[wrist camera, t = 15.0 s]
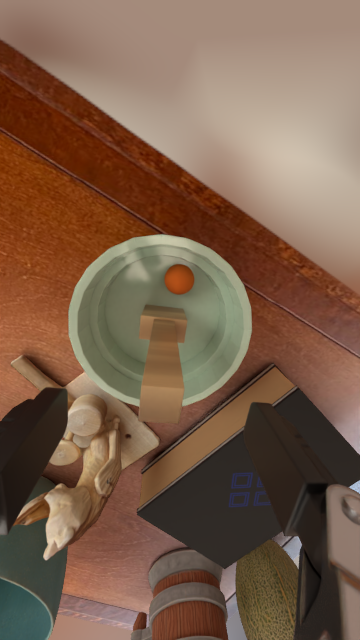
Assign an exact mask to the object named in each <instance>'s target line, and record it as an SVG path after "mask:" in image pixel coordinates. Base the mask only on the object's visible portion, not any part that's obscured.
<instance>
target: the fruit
mask: <svg viewBox="0 0 360 640" xmlns="http://www.w3.org/2000/svg"><path fill="white" fill-rule="evenodd" d="M298 572H299V570H298V568H297V566H296V565H295V563H294V562H293V561H292V559H291V558H290V556H289V555H288V554H287V553H286V551H285V550H284V549H283V548H282V547H281V546H280V545H279V544H277V543H276V542H274V541H273V540H271V539H269V540H268V541H266V542H265V543H263V544H262V545H260V546H259V547H257V548H256V549H254V550H253V551H251V552H250V553H248V554H247V555H245V556H244V557H242V558H241V559H239V560H238V561H237V566H236V598H237V605H238V610H239V614H240V618H241V622H242V625H243V628H244V631H245V634H246V637H247V639H248V640H293V635H294V628H295V617H296V602H297V587H298Z"/></svg>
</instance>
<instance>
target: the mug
mask: <svg viewBox="0 0 360 640" xmlns="http://www.w3.org/2000/svg"><path fill="white" fill-rule="evenodd" d="M221 575H222V567H221V566H219V565H218V564H216V563H214V562H213V561H211V560H209V559H208V558H206V557H205V556H203V555H201V554H200V553H198V552H197V551H195V550H193V549H192V548H183V549H178V550H175V551H172V552H169V553H167V554H165V555H163V556H162V557H161V558H159V559H158V560H157V561H156V562H155V564H154V565H153V567H152V568H151V570H150V572H149V583H150V586H151V589H152V592H153V600H152V602H151V604H150V611H149V627H147V628H146V622H147V615H146V613H143V612H140V613H139V614H138V616H137V619H136V621H135V623H134V626H133V632H132V634H131V640H228V635H227V629H226V622H227V618H228V614H227V608H226V603H225V597H224V595H223V593H222V592H221V591H220V581H221Z"/></svg>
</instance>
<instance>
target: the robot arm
mask: <svg viewBox="0 0 360 640" xmlns="http://www.w3.org/2000/svg"><path fill="white" fill-rule="evenodd" d="M67 424H68V392H67V389H66V388H54V387H45V388H44V389H43V390H42V391H41V392H40V393H39V394H38V395H37V396H36V398H35V399H34V400H33V399H27V400H26V401H24V402H22V403H21V404H19V405H17V406H16V407H14V408H13V409H12V410H11V411H10V412H9V413H8V414H7V415H6V416H5V417H4V418H3V419H2V421H0V535H8V533H9V532H10V530H11V528H12V526H13V525H14V523H15V521H16V519H17V517H18V516H19V514H20V512H21V510H22V509H23V507H24V505H25V503H26V501H27V500H28V498H29V496H30V494H31V493H32V491H33V489H34V487H35V485H36V484H37V482H38V480H39V478H40V477H41V475H42V473H43V471H44V469H45V468H46V466H47V464H48V462H49V461H50V459H51V457H52V455H53V453H54V452H55V450H56V448H57V446H58V445H59V443H60V441H61V439H62V437H63V436H64V433H65V431H66V428H67ZM243 436H244V442H245V445H246V448H247V450H248V452H249V455H250V457H251V459H252V462H253V464H254V466H255V468H256V471H257V473H258V475H259V478H260V480H261V482H262V485H263V487H264V489H265V492H266V494H267V496H268V499H269V501H270V503H271V506H272V508H273V510H274V512H275V515H276V517H277V519H278V522H279V524H280V526H281V529H282V531H283V533H284V536H298V537H299V539H300V541H301V543H302V547H301V549H300V557H299V572H298V587H297V602H296V617H295V628H294V635H293V640H360V494H359V493H357V492H356V491H354V490H352V489H350V488H348V487H346V486H343V485H339V484H338V482H337V481H336V480H335V478H334V477H333V476H332V474H331V473H330V472H329V471H328V469H327V468H326V467H325V465H324V464H323V463H322V461H321V460H320V459H319V458H318V456H317V455H316V454H315V452H314V451H313V450H312V448H311V447H309V445H308V443H307V442H306V441H305V439H304V438H302V435H301V434H300V433H299V432H298V430H297V429H296V428H295V426H294V425H293V424H292V423H290V422H289V421H288V420H287V419H286V418H284V417H283V416H280V415H279V414H278V413H277V411H276V410H275V408H274V407H273V406H272V405H271V404H270V403H262V402H252V403H251V405H250V408H249V412H248V415H247V419H246V423H245V427H244V432H243Z"/></svg>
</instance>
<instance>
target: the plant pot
mask: <svg viewBox="0 0 360 640" xmlns="http://www.w3.org/2000/svg"><path fill="white" fill-rule="evenodd" d="M55 487H56V485H55V484H54V483H53V482H52V481H50V480H49V479H47V478H45V477H42V476H41V477H40V478H39V480H38V482H37V484H36V485H35V487H34V489H33V491H32V493H31V494H30V496H29V498H28V500H27V501H26V503H25V505H26V504H28V503H29V502H30V501H32V500H33V499H35V498H36V497H39V496H40V495H42V494H44V493H46V492H50V491H51V490H52V489H55ZM25 505H24V506H25ZM48 518H49V517H47V518H43V519H40V520H38V521H36V522H34V523H31V524H29V525H21V524H18V525H14V526H12V528H11V530H10V532H9V533H8V535H0V640H48V639H49V637H50V635H51V633H52V631H53V627H54V624H55V620H56V616H57V612H58V608H59V604H60V599H61V594H62V589H63V584H64V578H65V571H66V563H67V550H68V546H67V547H65V548H64V549H62V550H60V551H58V552H57V553H55V555H54V556H52V557H51V558H50V559H48V560H45V559H44V557H43V556H44V552H45V549H46V548H47V546H48V543H47V536H46V523H47V521H48Z"/></svg>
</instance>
